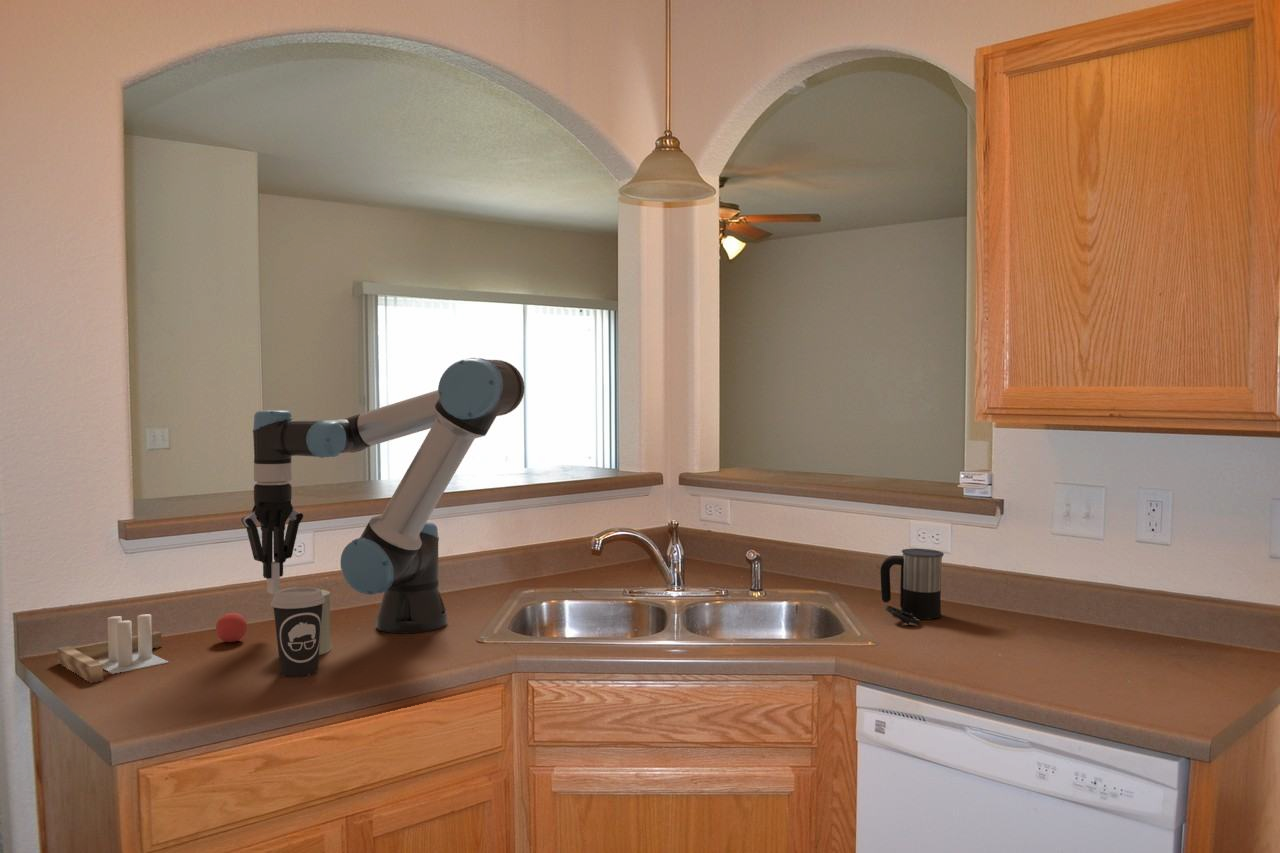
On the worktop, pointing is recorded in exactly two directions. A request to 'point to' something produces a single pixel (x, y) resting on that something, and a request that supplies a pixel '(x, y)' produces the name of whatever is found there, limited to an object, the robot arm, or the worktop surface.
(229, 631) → the ball
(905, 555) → the milk frother
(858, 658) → the worktop surface
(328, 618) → the can
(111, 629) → the pin
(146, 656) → the pin front
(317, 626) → the coffee cup
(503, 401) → the robot arm
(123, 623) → the pin
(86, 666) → the wooden angle block
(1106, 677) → the worktop surface
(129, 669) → the pin deck mark
